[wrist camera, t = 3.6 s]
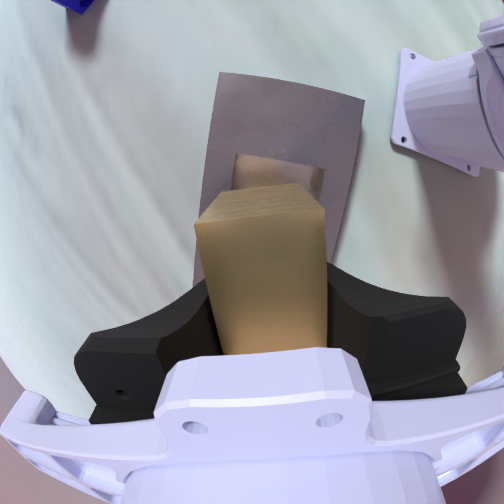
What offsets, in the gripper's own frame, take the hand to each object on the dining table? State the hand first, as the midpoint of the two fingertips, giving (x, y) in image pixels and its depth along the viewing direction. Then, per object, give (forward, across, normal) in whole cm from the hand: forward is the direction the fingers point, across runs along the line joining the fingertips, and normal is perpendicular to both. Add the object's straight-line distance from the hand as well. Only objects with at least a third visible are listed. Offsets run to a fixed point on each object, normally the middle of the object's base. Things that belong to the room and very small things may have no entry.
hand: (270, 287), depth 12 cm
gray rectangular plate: (+8, 0, 0) cm, 8 cm away
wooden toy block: (+2, 0, 0) cm, 2 cm away
